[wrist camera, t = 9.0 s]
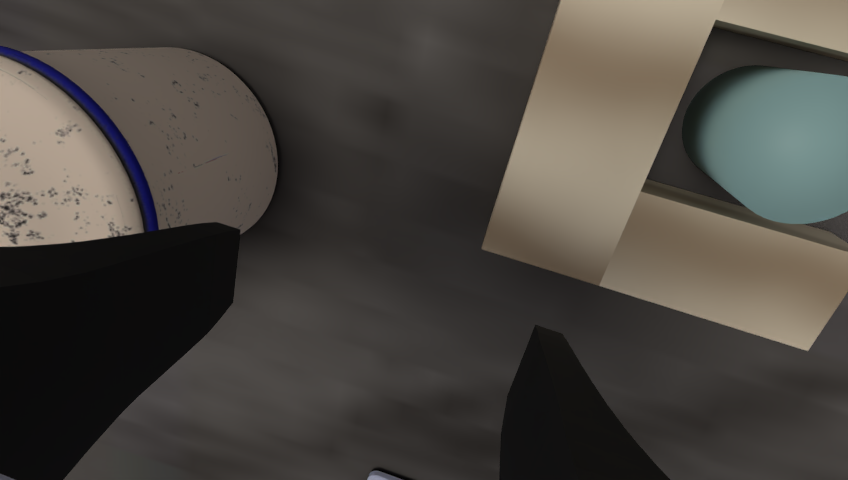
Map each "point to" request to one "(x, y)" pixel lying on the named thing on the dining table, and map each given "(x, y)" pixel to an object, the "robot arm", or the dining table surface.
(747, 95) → the teal peg
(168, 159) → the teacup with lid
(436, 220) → the dining table surface
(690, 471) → the dining table surface
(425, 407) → the dining table surface
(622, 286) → the notched board
